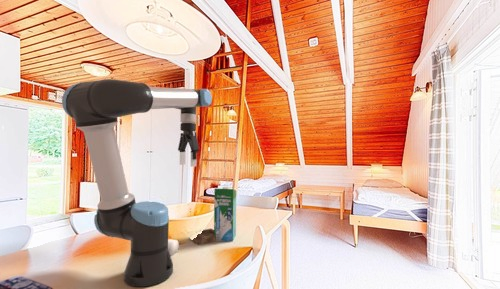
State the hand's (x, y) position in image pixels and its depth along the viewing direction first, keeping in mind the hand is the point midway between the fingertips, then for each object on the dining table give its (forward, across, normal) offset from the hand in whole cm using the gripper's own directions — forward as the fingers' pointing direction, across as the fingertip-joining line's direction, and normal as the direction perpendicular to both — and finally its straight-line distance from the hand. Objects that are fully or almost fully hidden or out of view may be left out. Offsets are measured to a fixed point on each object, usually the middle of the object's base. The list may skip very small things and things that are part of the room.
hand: (187, 165), depth 122 cm
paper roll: (+32, -18, +13) cm, 39 cm away
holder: (+35, -10, -6) cm, 37 cm away
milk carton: (+35, -14, -14) cm, 40 cm away
